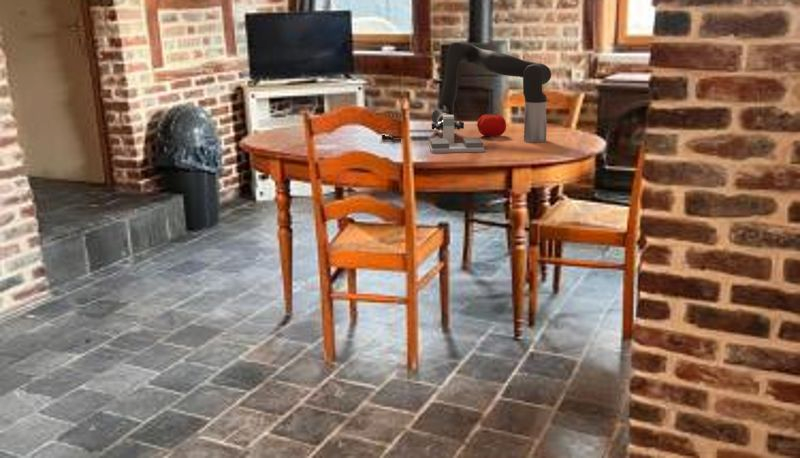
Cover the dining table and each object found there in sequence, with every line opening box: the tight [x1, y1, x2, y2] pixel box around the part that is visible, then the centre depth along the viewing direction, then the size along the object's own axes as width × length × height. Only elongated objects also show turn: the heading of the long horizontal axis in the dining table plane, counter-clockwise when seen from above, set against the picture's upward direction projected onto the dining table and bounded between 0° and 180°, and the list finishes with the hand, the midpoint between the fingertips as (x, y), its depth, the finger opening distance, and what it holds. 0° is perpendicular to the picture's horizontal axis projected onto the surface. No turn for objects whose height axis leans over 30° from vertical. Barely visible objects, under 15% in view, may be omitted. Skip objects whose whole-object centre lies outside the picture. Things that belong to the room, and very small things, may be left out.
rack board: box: [428, 137, 486, 154], centre depth 327 cm, size 22×16×4 cm
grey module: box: [442, 114, 455, 143], centre depth 340 cm, size 5×5×12 cm
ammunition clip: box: [381, 112, 401, 141], centre depth 354 cm, size 11×2×12 cm, turn 88°
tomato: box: [476, 112, 507, 137], centre depth 356 cm, size 13×12×11 cm
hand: (448, 127), depth 339 cm, fingers open, 8 cm apart
